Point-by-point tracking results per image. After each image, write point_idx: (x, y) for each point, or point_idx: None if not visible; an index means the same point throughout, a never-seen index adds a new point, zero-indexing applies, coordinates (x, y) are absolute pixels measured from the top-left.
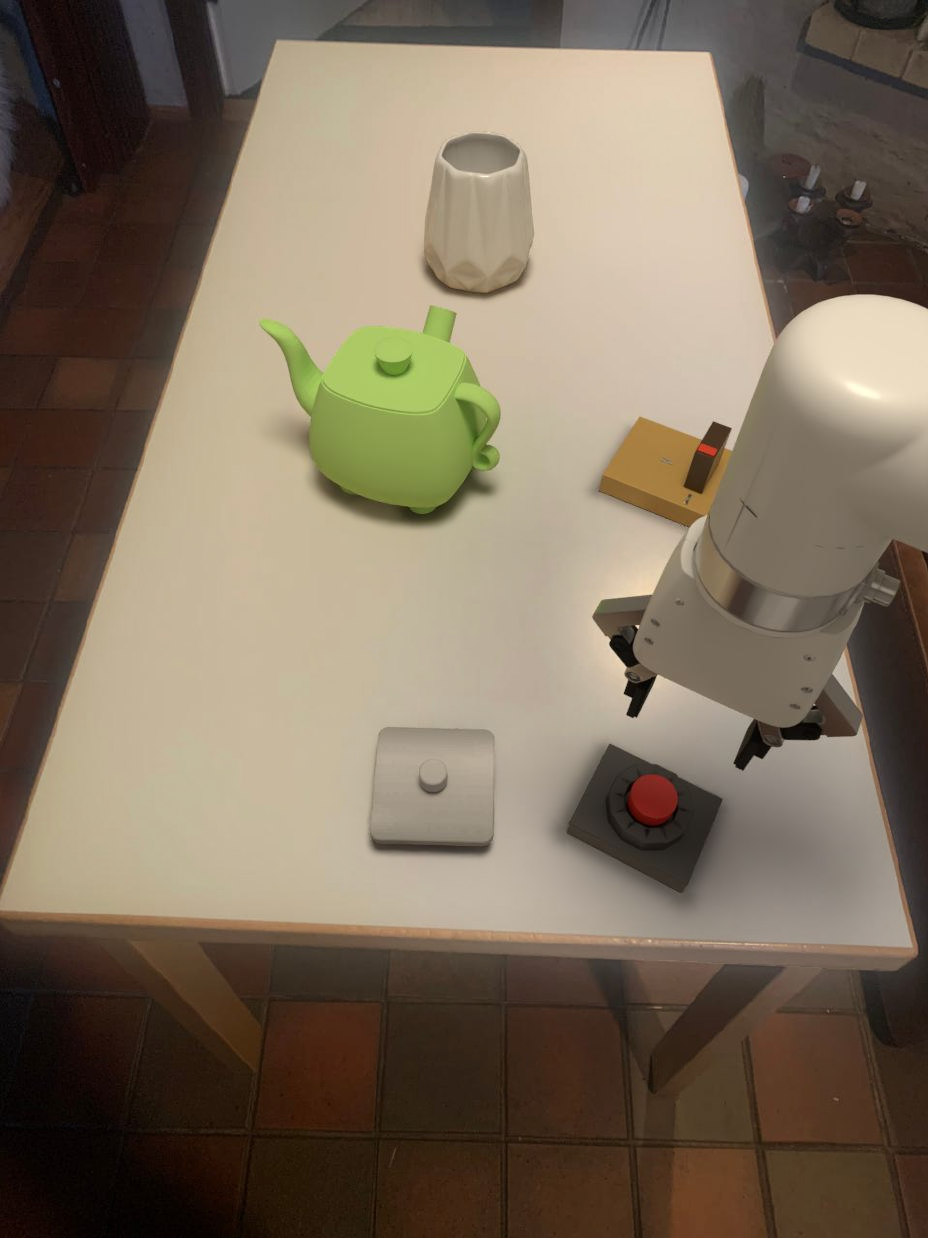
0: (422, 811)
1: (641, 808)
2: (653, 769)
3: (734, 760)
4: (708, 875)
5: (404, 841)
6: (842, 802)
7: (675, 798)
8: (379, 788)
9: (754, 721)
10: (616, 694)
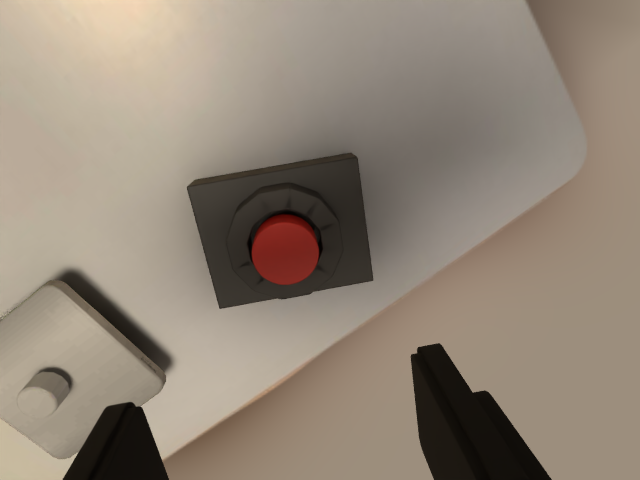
0: (77, 413)
1: (281, 280)
2: (260, 204)
3: (420, 438)
4: (382, 231)
5: None
6: (488, 29)
7: (311, 240)
8: (15, 424)
9: (450, 455)
10: (141, 85)
